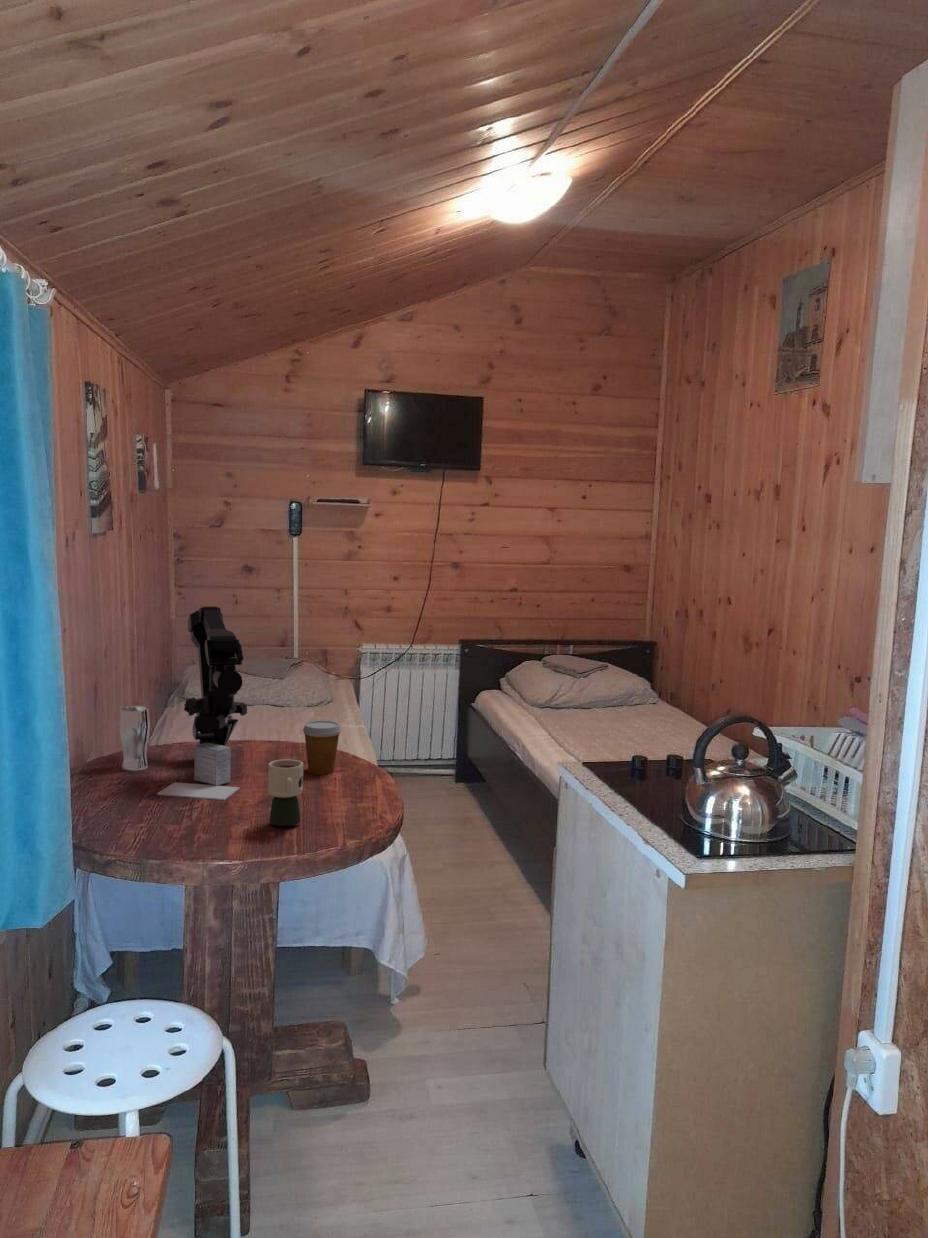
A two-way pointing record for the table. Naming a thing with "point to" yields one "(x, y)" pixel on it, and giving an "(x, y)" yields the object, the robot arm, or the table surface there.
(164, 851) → the table surface
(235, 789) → the mat
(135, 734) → the beer glass
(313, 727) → the disposable coffee cup
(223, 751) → the medicine box
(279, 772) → the character mug
